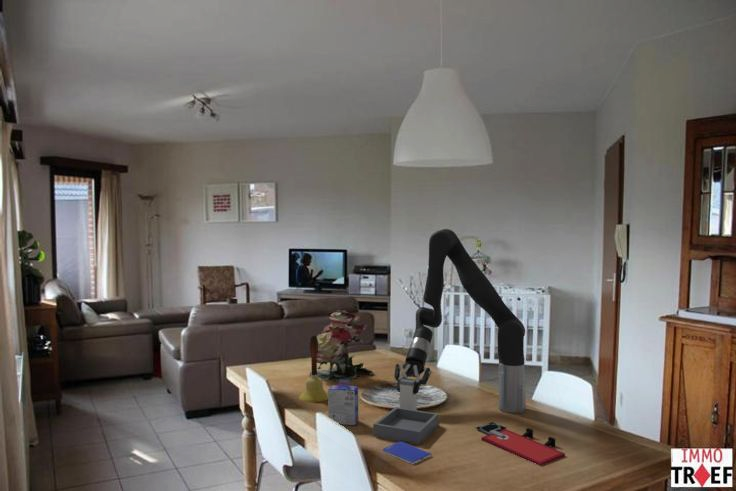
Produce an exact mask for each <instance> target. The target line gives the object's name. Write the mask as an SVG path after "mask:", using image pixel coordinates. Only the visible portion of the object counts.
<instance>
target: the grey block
mask: <svg viewBox="0 0 736 491" xmlns="http://www.w3.org/2000/svg"><path fill="white" fill-rule="evenodd" d="M415 383H416V379H413V378H407V379H406V378H404V379H402V380H401V381H400V392H399V408H404V409H411V410H417V411H418V398H417V397H418V396H417V394H418V393H416V394H414V393H413V388H414V385H415Z"/></svg>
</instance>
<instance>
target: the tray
mask: <svg viewBox="0 0 736 491" xmlns="http://www.w3.org/2000/svg"><path fill="white" fill-rule="evenodd" d="M439 418H440V416H439V413H437V412H429V411H423V410H418V409H417V410H411V409H404V408H400V407H398V406H395V407H394V408H393V409H391V410H390V411H388V412H387V413H386V414H385V415H384V416H382V417H381V418H379V419H378V420H377V421H376V422H374V423H373V427H372V428H373V437H376V438H382V439H387V440H393V441H398V442H400V441H401V442H404V443H406V444H408V443H409V444H414V445H418V446H420V445H421V444H422V443H423V442H424V441H425V440H426V439H427V438H429V436H430V435H431V434H432V433H433V432H434V431H435V430H436V429H437V427H438V428H439V426H440V423H439V421H440V420H439Z"/></svg>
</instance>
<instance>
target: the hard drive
mask: <svg viewBox="0 0 736 491" xmlns="http://www.w3.org/2000/svg"><path fill="white" fill-rule="evenodd" d="M382 452H383V453H385V454H386V455H389V454H390V455H389V456H391V455H392V457H394V458H396V457H397V458H396V459H398V458H399V460H401V461H403V460H404V461H403V462H405V461H406V462H405V463H408V464H410V463H411V464H410V465H412V464H414V465H416V464H418V463H420V462H422V461H425V460H427V459H429V458H431V457H432V453H431V452H428V451H425V450H424V449H421V448H418V447H416V446H413V445H411V444H410V443H409V444H408V443H407V442H402V441H398V442H395V443H393V444H391V445H389V446H386V447H383V448H382ZM428 457H429V458H428ZM426 458H427V459H426ZM424 459H425V460H424ZM419 461H420V462H419ZM417 462H418V463H417ZM415 463H416V464H415Z"/></svg>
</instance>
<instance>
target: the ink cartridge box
mask: <svg viewBox="0 0 736 491" xmlns="http://www.w3.org/2000/svg"><path fill="white" fill-rule="evenodd" d="M343 382H344V383H343ZM327 393H328V399H327V400H328V401H327V402H328V405H327V406H328V408H327V410H328V411H327V414H328V417H329V418H331V419H333V420H334V421H336V422H338V423H340V424H339V425H345V426H346V425H348V426H356V424H357V423H358V422H359V386H356V385H350V381H349V380H341V379H339V380H338V384H337V385H331V386H330V387H329V388H327ZM328 417H327V418H328Z"/></svg>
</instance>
